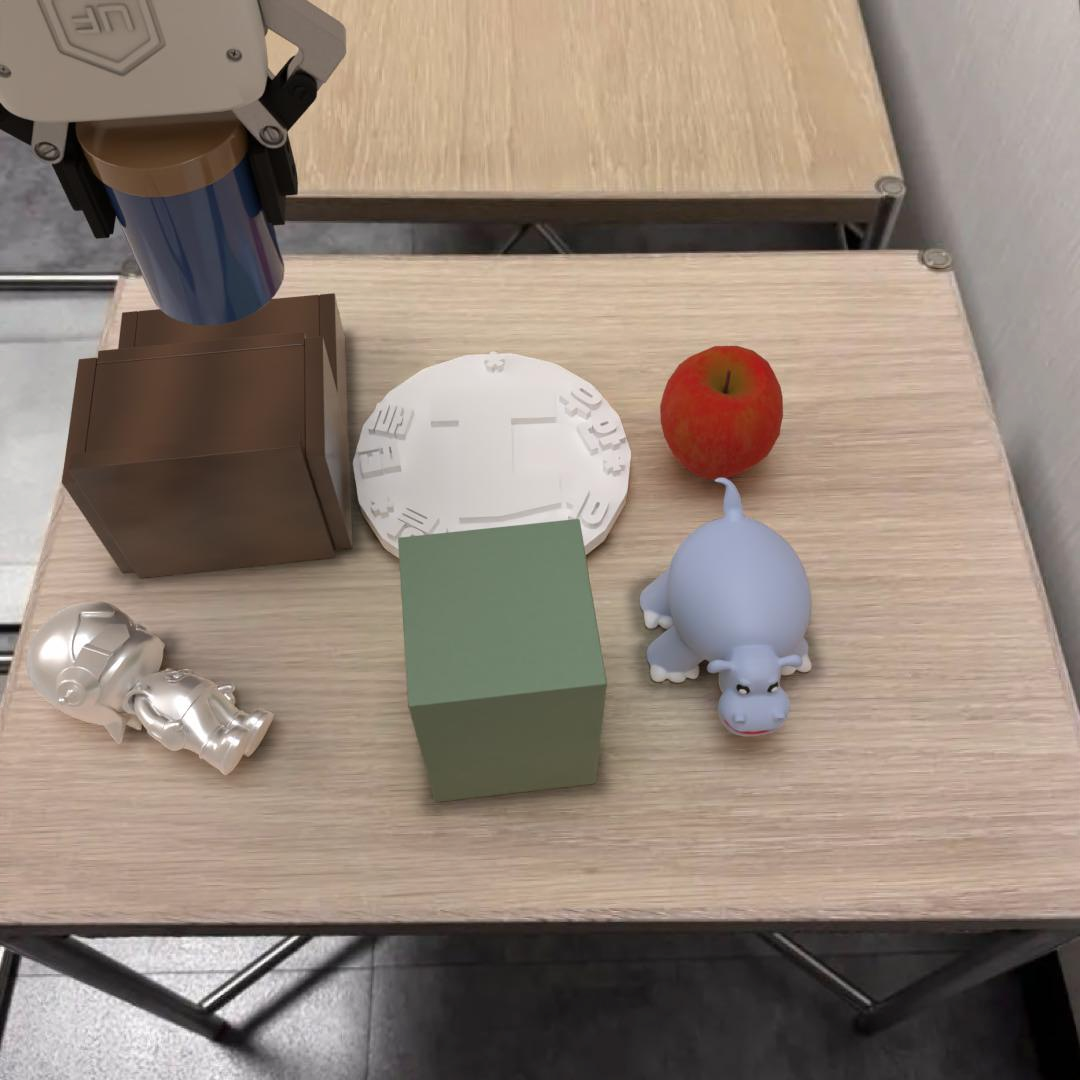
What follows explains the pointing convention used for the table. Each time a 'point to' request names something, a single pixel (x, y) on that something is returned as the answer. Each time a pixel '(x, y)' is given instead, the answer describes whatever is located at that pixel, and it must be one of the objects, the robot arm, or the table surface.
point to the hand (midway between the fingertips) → (193, 208)
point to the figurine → (137, 686)
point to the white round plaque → (491, 451)
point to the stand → (502, 658)
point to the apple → (722, 411)
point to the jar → (189, 211)
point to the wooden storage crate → (215, 440)
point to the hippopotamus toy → (733, 616)
